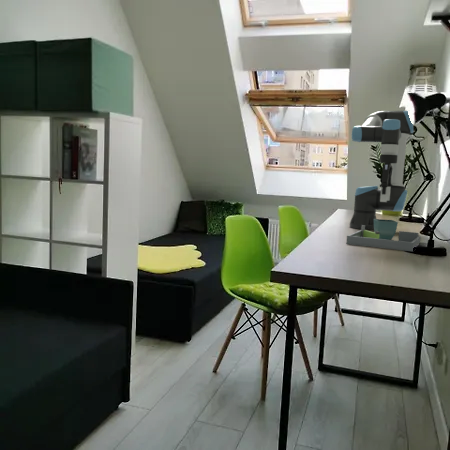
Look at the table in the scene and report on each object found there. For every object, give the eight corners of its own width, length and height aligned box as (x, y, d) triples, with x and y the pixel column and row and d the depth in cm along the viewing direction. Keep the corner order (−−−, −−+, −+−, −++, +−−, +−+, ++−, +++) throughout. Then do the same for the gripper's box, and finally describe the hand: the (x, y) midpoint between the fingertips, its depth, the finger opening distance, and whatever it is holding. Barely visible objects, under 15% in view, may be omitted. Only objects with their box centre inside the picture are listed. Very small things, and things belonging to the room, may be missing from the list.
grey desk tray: (359, 237, 223) (360, 224, 222) (420, 244, 210) (421, 230, 210) (346, 243, 202) (347, 229, 201) (412, 251, 189) (414, 236, 188)
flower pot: (396, 241, 216) (398, 221, 215) (377, 240, 216) (378, 220, 215) (390, 238, 225) (392, 219, 224) (371, 237, 225) (373, 218, 224)
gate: (365, 237, 220) (366, 228, 220) (379, 242, 208) (380, 231, 207) (362, 237, 220) (363, 227, 219) (375, 242, 208) (376, 231, 207)
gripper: (383, 155, 228) (379, 199, 230) (377, 152, 205) (372, 201, 208) (399, 155, 225) (395, 200, 227) (395, 153, 202) (390, 203, 205)
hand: (384, 201), depth 218 cm, fingers open, 13 cm apart
